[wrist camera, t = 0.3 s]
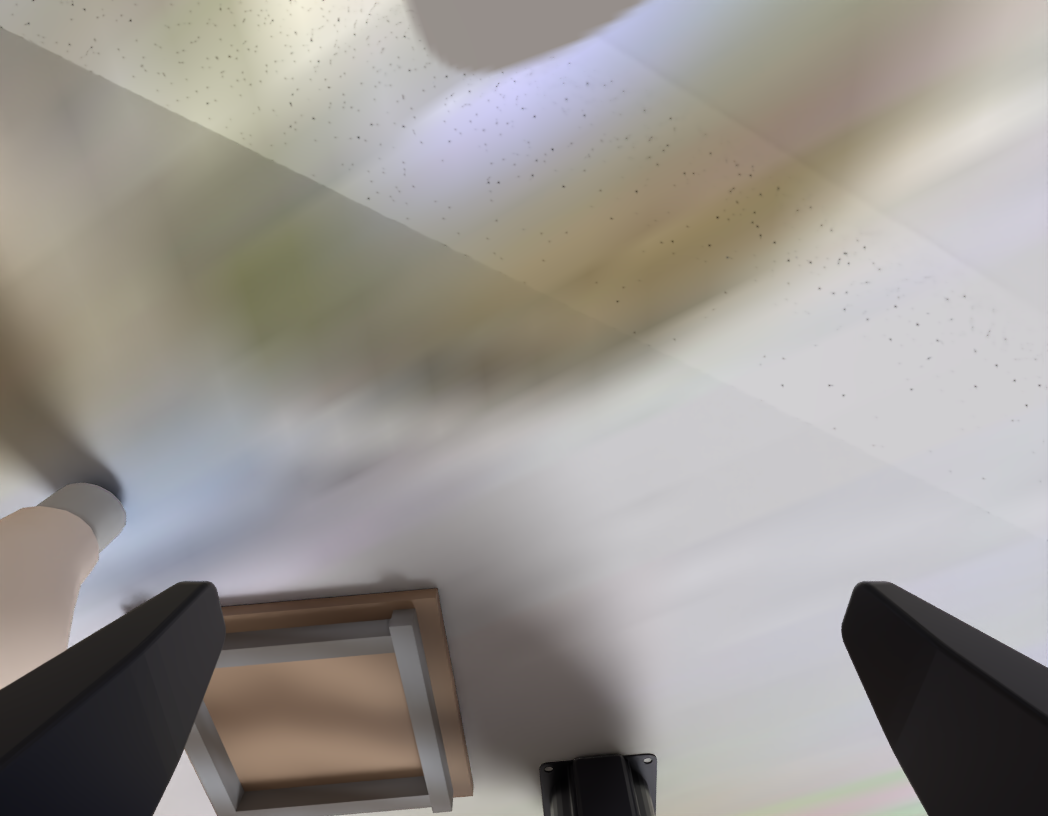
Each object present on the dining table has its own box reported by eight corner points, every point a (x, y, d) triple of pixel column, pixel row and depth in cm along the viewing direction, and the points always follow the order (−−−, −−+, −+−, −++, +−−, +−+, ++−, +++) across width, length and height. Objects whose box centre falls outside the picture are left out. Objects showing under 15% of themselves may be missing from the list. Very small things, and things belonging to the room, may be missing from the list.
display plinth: (473, 784, 31) (472, 815, 29) (223, 806, 31) (209, 838, 29) (437, 588, 25) (433, 614, 24) (131, 614, 25) (108, 642, 24)
